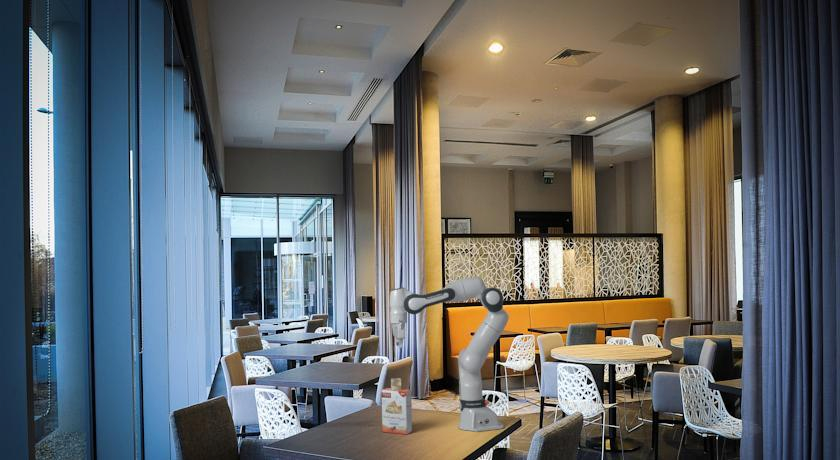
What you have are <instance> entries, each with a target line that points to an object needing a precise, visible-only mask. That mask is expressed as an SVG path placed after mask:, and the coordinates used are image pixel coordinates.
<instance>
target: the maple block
mask: <svg viewBox="0 0 840 460" xmlns="http://www.w3.org/2000/svg"><path fill="white" fill-rule="evenodd" d="M390 388H391V389H392V390H401V389H402V378H400V377H397V378H396V377H395V378H394V377H393V378H391V379H390Z"/></svg>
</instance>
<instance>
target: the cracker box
mask: <svg viewBox="0 0 840 460" xmlns="http://www.w3.org/2000/svg"><path fill="white" fill-rule="evenodd" d="M412 407H413V406H412V389H407V388H405V389H404V388H401V390H392V389H391V387H386V388H383V389H381V420H382V421H381V423H382V424H381V425H382V430H381V431H382V433H389V434H390V433H391V434H396V435H409V434H410V433H413V414H412V413H413V412H412V409H413V408H412Z"/></svg>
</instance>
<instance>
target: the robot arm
mask: <svg viewBox="0 0 840 460" xmlns="http://www.w3.org/2000/svg"><path fill="white" fill-rule="evenodd" d="M472 299H478V300H479V302H480V304H481V305H482V306H483V308H484V309H486V310H487V314H486V316H485V318H484V319H483V321H482V322H481V324H480V325H479V327H478V328H477V329H476V331H475V333H474V334H473V336H472V338H471V340H470V342H469V344H468V346H467V347H465V348H463V349H461V351H460V352H459V353H458V358H457V360H458V363H457V364H458V374H459V375H458V376H459V384H460V387H459V390H460V398H459V410H460V414H459V421H458V422H459V423H458V429H460V430H462V431H463V430H464V431H471V432H476V433H477V432H485V431H494V430H502V429H503V428H504V424H503V423H502V422H500V421H499V420H500V419H499V417H498V414H497V413H496V412H495V411H494V410H493V409H492V408H489V406H488V405H489V404H490V401H489V400H488V399H485V398H484V397H483V380H482V372H481V369H482V367H483V365H484V364H485V362H486V359H487V358H488V356H489V354H490V352H491V350H492V349H493V347H494V345H495V344H496V343H497V341H498V339H499V338H500V336H501V335H502V334H503V332H504V330H505V328H506V327H507V323H508V322H509V319H510V317H509V314H508V312H507V311H506V310H505V309H504V308H503V306H504V295H503V293H502V291H501V290H500V289H498V288H497V287H494V286H493V287H487V286H486V284H485V281H484V279H482V277H479V276H471V277H467V278H462V279H457V280H455V281H453V282H451V283H449V284H447V285H446V286H445V287H443V288H441V289H440V290H437V291H433V292H429V293H426V294H418V293H415V292H412V291H410V290H408V289H406V288H405V287H398V288H394V289H392V290H391V291H390V293H389V308H390V312H389V323H390V324H391V328H392V335H393V337H395V344H396V346H398V348H399V349H402V348H403V343H404V340H405V339H406V327H405V326H406V324H407V323H408V314H410V315H417V314H419V313H421V312H422V311H423V310H425V309H426V308H429V307H431V306H432V307H433V306H435V305H439V304H443V303H460V302H464V301H465V302H466V301H468V300H472Z"/></svg>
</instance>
